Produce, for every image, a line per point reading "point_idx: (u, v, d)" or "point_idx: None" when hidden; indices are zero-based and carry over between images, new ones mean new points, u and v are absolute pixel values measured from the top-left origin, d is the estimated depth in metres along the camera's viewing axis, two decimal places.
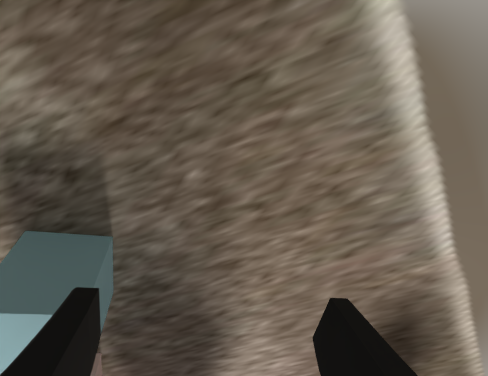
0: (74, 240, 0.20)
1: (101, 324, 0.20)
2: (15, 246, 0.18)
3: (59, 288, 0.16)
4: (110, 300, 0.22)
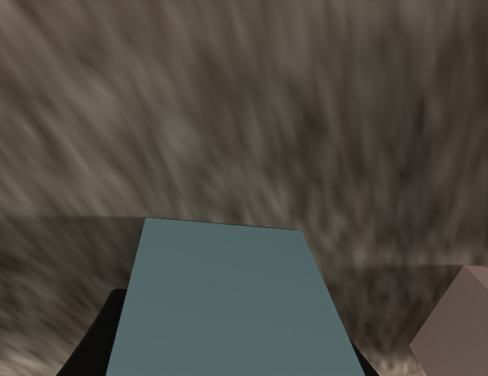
0: None
1: (312, 307, 0.08)
2: None
3: None
4: (305, 247, 0.10)
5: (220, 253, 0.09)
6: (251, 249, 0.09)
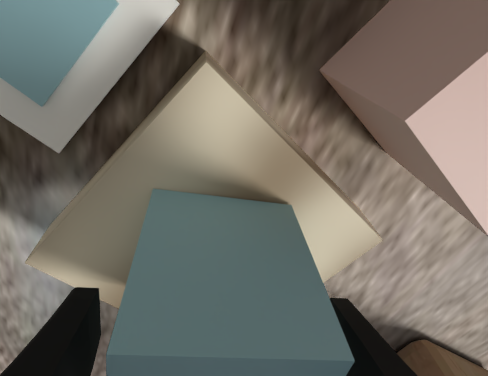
0: None
1: (296, 263, 0.09)
2: None
3: None
4: (294, 218, 0.11)
5: (218, 219, 0.10)
6: (245, 217, 0.11)
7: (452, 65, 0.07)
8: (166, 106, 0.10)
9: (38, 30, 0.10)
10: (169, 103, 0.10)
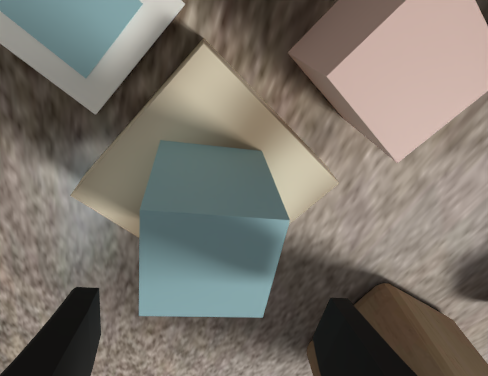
0: None
1: (260, 179, 0.13)
2: None
3: None
4: (262, 158, 0.16)
5: (207, 156, 0.15)
6: (226, 156, 0.15)
7: (355, 41, 0.11)
8: (176, 75, 0.14)
9: (86, 22, 0.14)
10: (178, 73, 0.14)
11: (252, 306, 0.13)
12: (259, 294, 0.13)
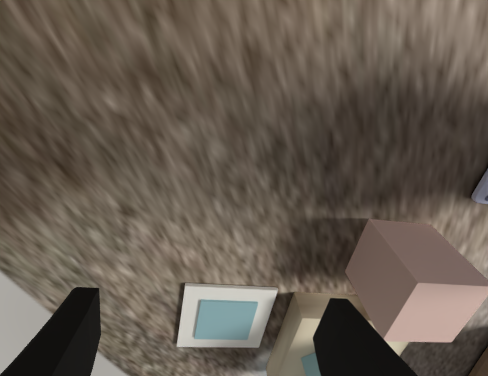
0: None
1: None
2: None
3: None
4: None
5: None
6: None
7: (388, 318, 0.19)
8: (295, 333, 0.24)
9: (237, 323, 0.26)
10: (296, 332, 0.24)
11: None
12: None
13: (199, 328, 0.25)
